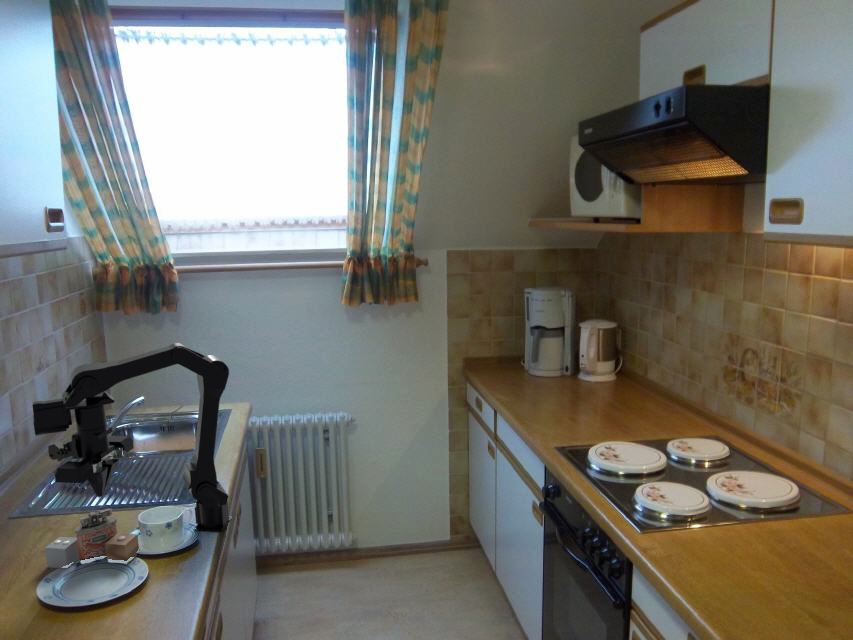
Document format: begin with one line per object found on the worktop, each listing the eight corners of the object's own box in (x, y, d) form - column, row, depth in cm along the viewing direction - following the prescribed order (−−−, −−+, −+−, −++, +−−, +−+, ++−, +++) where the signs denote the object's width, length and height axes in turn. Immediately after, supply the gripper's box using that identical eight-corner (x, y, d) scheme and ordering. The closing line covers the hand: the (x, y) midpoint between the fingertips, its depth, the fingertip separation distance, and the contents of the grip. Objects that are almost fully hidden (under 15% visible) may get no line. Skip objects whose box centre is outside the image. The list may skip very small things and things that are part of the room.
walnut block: (139, 553, 145) (137, 533, 144) (127, 564, 141) (124, 544, 140) (120, 552, 146) (118, 532, 145) (107, 563, 142) (105, 542, 141)
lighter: (81, 566, 140) (75, 521, 139) (77, 559, 143) (71, 515, 141) (122, 552, 146) (117, 509, 144) (117, 546, 148) (112, 504, 146)
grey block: (81, 557, 144) (79, 537, 143) (67, 569, 140) (64, 548, 139) (62, 556, 145) (59, 535, 144) (47, 567, 140) (44, 546, 140)
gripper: (84, 410, 151) (92, 476, 154) (24, 441, 133) (35, 515, 136) (131, 411, 149) (138, 478, 152) (76, 443, 131) (86, 518, 134)
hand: (100, 496), depth 144 cm, fingers closed
